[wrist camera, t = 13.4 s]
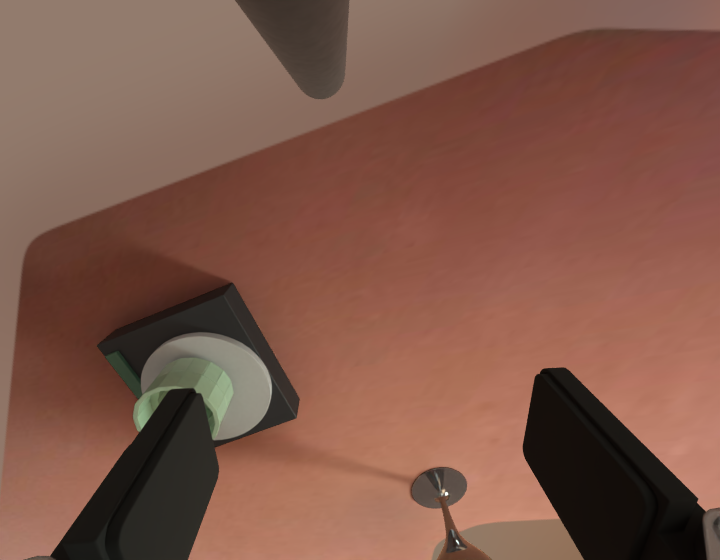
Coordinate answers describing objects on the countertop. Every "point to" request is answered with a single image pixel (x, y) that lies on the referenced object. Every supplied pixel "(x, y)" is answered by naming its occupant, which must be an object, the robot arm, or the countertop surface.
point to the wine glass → (446, 509)
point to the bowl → (188, 375)
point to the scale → (209, 358)
